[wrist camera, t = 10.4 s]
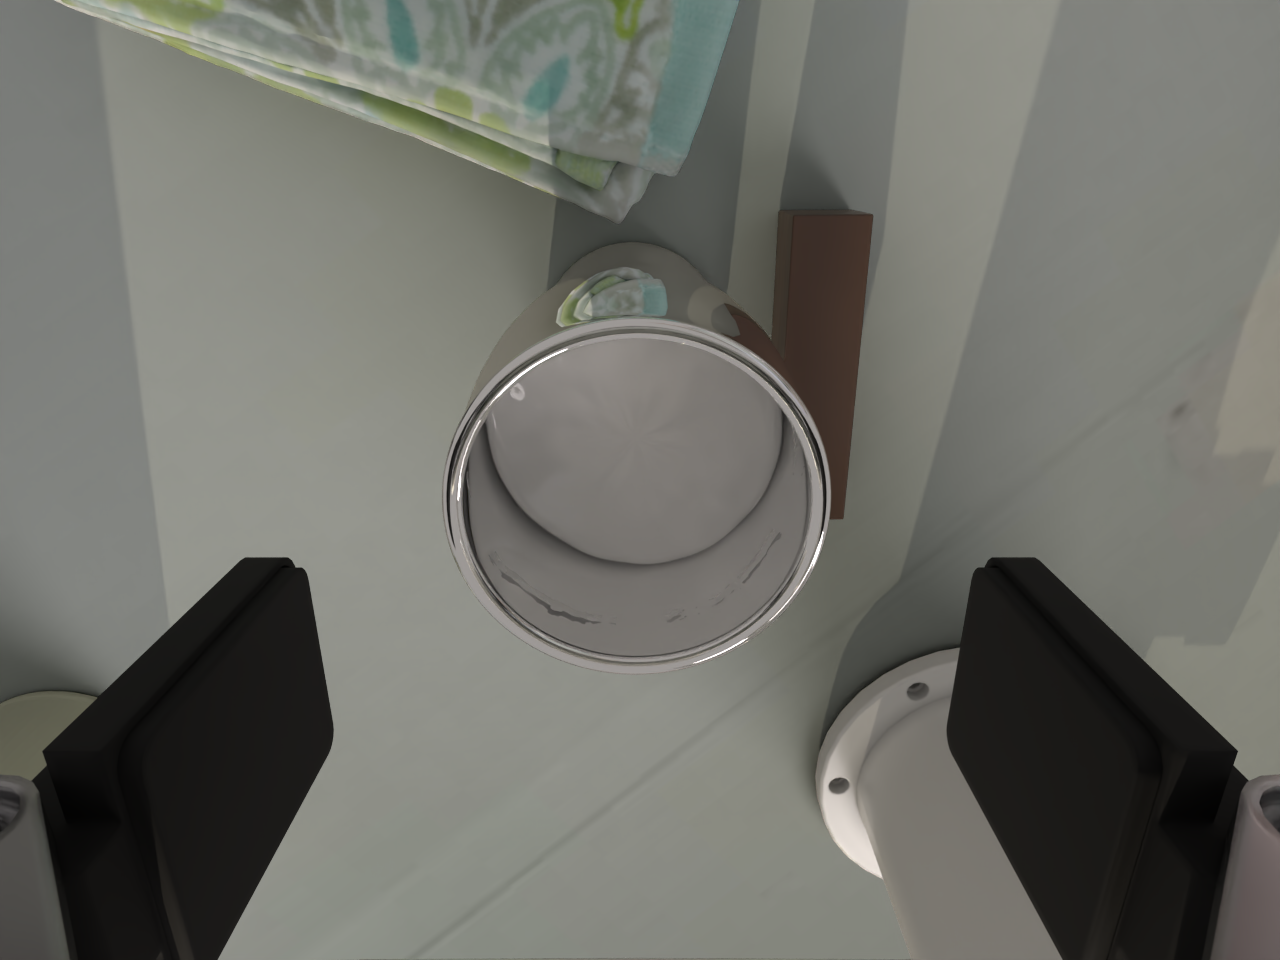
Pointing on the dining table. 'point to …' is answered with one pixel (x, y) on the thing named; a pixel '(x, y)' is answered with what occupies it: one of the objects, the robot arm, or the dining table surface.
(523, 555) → the beer glass
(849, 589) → the dining table surface
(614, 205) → the towel
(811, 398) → the rail
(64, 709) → the can
